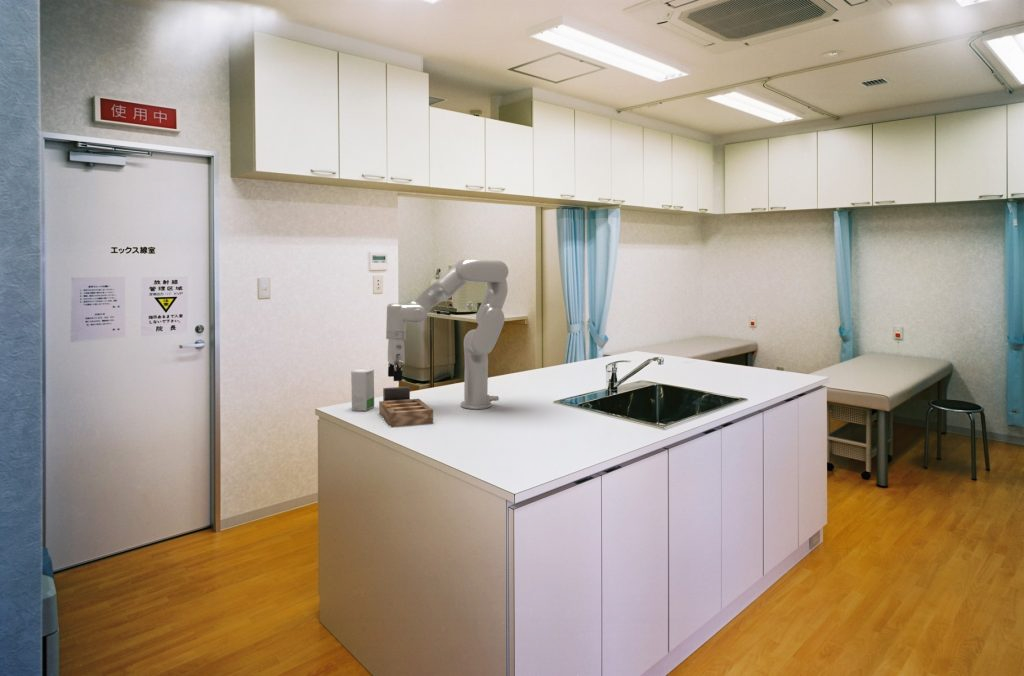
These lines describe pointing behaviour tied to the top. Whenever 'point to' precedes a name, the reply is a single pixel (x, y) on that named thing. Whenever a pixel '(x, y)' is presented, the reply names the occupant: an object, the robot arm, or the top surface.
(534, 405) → the top surface
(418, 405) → the rack
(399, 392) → the panel
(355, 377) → the skincare box
